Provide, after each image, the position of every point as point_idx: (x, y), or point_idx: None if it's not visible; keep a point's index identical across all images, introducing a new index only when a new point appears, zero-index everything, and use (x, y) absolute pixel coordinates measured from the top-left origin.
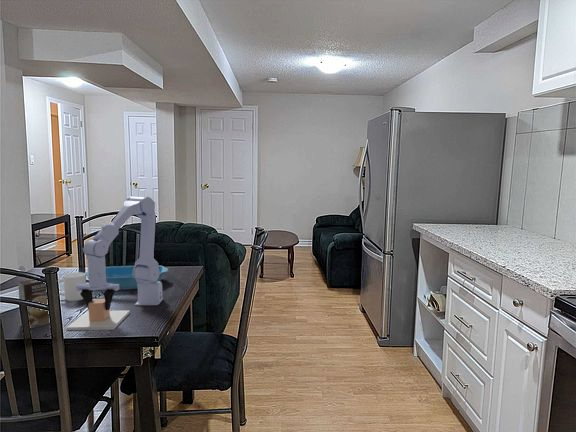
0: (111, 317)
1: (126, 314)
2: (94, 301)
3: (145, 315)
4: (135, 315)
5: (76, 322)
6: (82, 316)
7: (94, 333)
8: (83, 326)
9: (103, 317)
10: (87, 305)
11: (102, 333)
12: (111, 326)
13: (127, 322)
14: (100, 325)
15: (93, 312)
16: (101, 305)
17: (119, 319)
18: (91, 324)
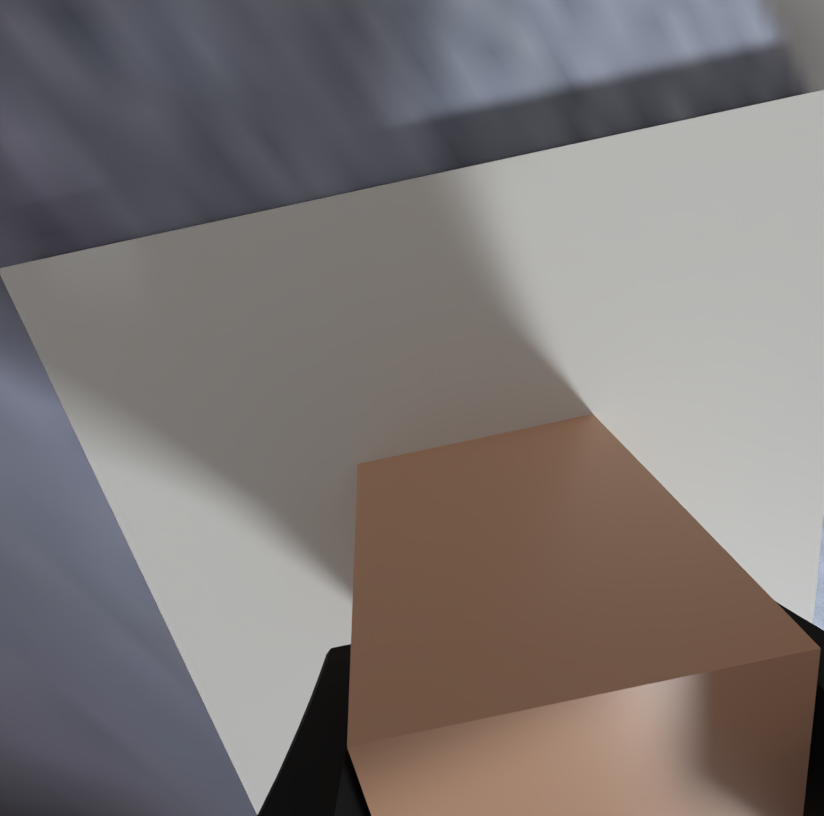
0: (338, 599)
1: (221, 727)
2: (703, 797)
3: (10, 771)
4: (139, 747)
5: (780, 329)
6: (791, 548)
7: (238, 28)
8: (568, 181)
9: (363, 494)
10: (813, 634)
11: (88, 55)
12: (48, 277)
13: (52, 550)
14: (287, 284)
15: (569, 512)
16: (395, 675)
17: (159, 562)
18: (478, 297)
